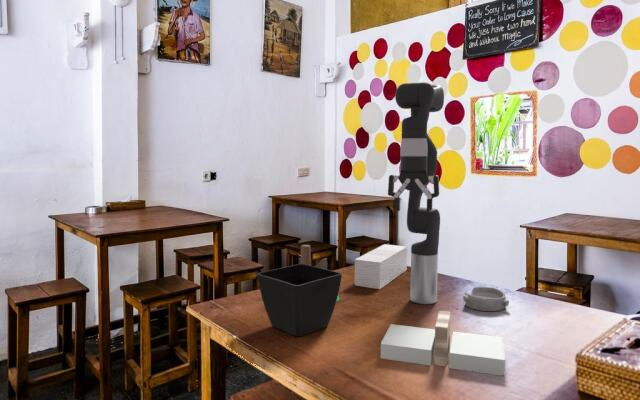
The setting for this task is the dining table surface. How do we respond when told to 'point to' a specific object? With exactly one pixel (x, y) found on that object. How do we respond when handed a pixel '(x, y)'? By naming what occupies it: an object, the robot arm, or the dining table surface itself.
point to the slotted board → (464, 350)
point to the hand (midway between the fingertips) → (413, 211)
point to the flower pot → (299, 297)
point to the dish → (486, 299)
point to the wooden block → (307, 257)
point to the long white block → (380, 266)
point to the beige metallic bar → (442, 338)
